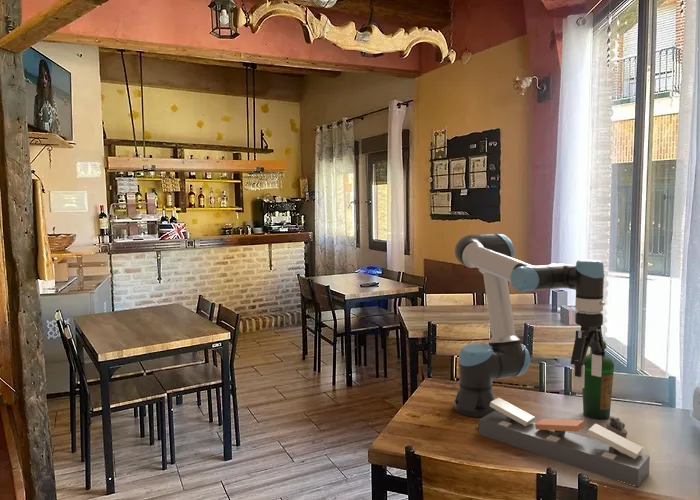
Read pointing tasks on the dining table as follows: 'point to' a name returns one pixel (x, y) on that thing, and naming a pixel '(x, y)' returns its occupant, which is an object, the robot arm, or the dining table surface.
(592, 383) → the bottle
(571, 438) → the rocker switch base
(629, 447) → the rocker right
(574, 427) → the rocker middle
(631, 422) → the dining table surface
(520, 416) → the block
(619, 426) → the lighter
